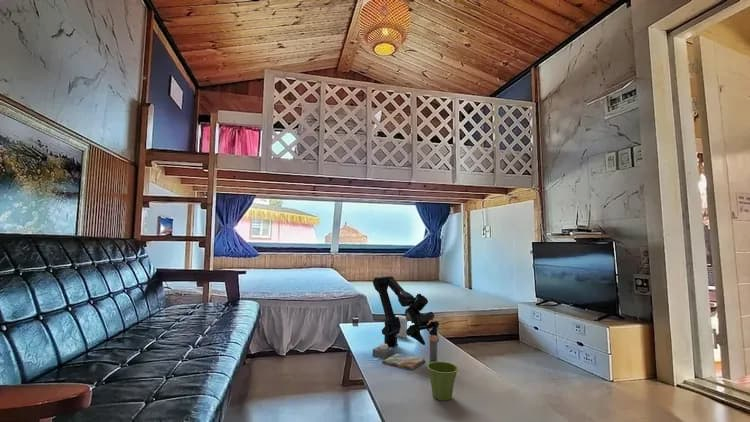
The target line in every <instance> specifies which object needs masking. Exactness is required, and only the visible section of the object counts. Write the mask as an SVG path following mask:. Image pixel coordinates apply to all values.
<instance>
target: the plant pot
mask: <svg viewBox="0 0 750 422" xmlns="http://www.w3.org/2000/svg"><path fill="white" fill-rule="evenodd" d="M426 367H427V369H428V373H429V378H430V385H431V392H432V393H431V394H432V397H433V398H434V399H437V400H439V401H445V402H446V401H449V400H450V399H452V397H453V392H454V388H455V387H454V385H455V382H456V381H455V379H456V376H457V373H458V372H459V367H458V366H457V365H455V364H454V363H451V362H447V361H437V362H431V363H430V362H429V363H427V365H426Z"/></svg>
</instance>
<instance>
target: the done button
mask: <svg viewBox="0 0 750 422" xmlns="http://www.w3.org/2000/svg"><path fill="white" fill-rule="evenodd" d="M378 347H379V350H383V351H386V350H388V344H384V343H379V344H378Z"/></svg>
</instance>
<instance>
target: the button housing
mask: <svg viewBox="0 0 750 422" xmlns="http://www.w3.org/2000/svg"><path fill="white" fill-rule="evenodd" d="M394 354H395V347H388V350H386V351H383V350H379V346H376V347H375V348H373V349H372V356H374V357H378V358H382V359H387V358H389V357H391V356H392V355H394Z"/></svg>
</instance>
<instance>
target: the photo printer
mask: <svg viewBox="0 0 750 422" xmlns="http://www.w3.org/2000/svg"><path fill="white" fill-rule="evenodd" d="M394 315H395V316H396V317H399V320H400V323H401V324H400V325H401V328H400V332H399V334H397V337H399V338H403V339H405V338H407V337H408V335H407V333H406V330H407V329H408V319H407V318H406V317H405V316H404V315H400V314H394Z"/></svg>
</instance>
